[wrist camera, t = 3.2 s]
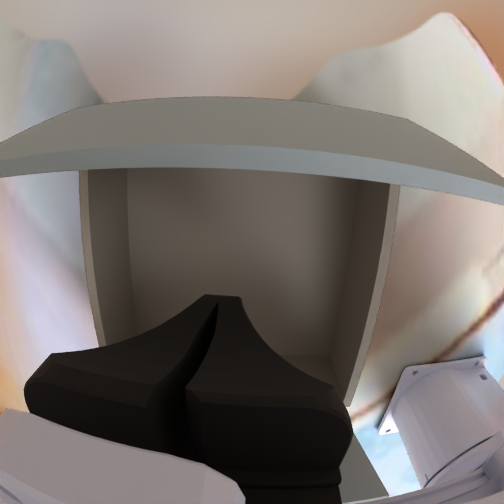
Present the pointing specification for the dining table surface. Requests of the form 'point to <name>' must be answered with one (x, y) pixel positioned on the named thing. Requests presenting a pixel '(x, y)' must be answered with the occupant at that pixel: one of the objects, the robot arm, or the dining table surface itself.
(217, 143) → the near flap
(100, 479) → the robot arm
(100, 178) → the carton
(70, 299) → the dining table surface
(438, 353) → the dining table surface
